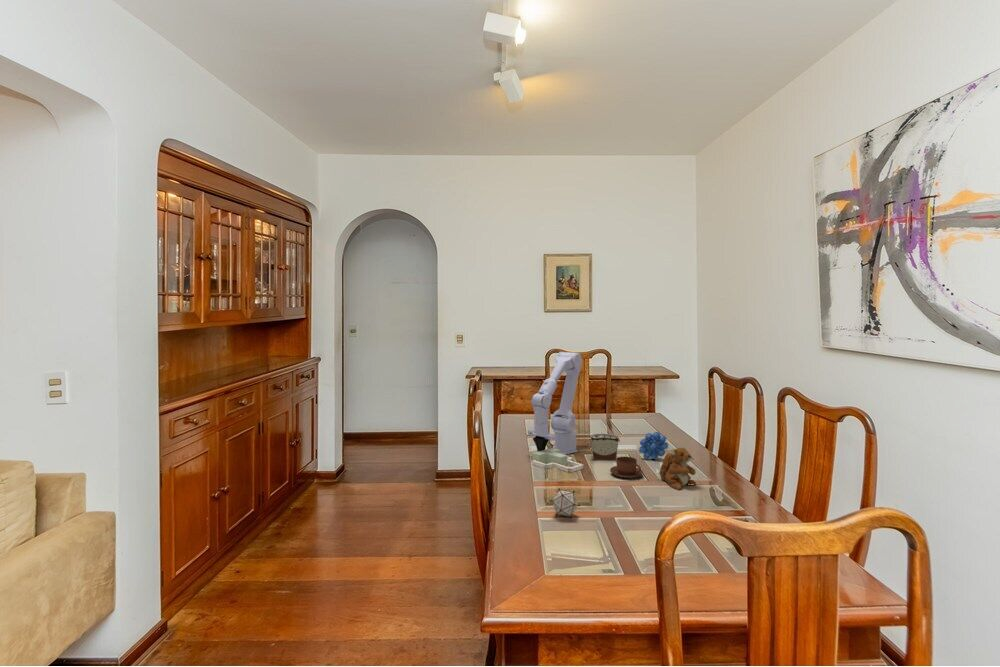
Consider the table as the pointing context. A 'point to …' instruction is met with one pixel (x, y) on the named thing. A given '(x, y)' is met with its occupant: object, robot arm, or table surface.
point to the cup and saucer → (626, 468)
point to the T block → (550, 456)
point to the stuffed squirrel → (677, 468)
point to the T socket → (569, 462)
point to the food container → (604, 447)
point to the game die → (565, 503)
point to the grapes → (653, 445)
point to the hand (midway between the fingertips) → (541, 454)
